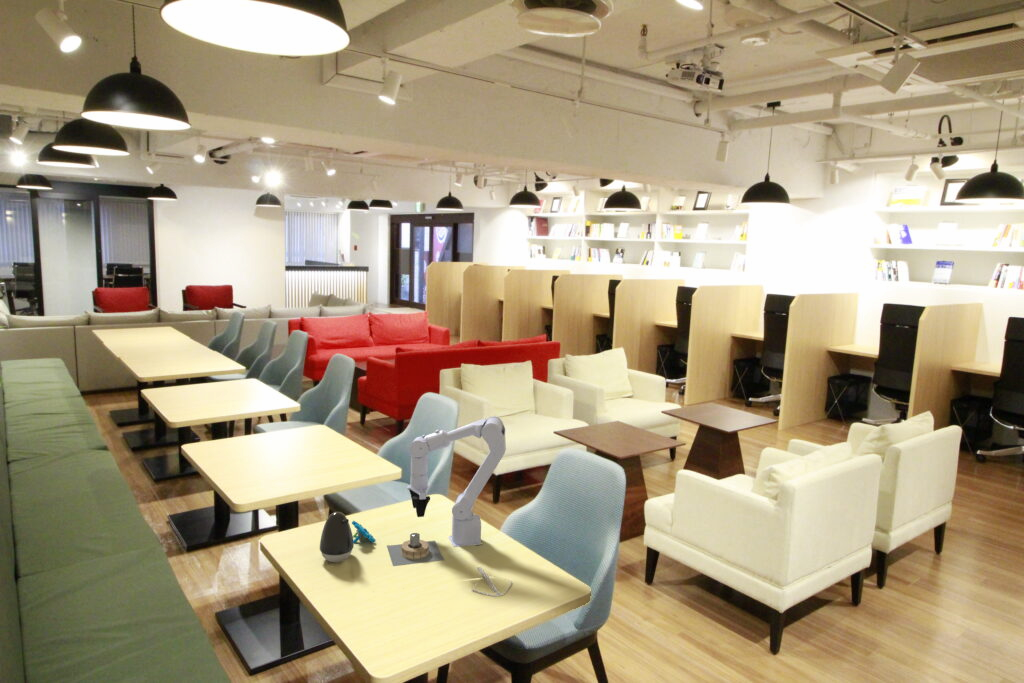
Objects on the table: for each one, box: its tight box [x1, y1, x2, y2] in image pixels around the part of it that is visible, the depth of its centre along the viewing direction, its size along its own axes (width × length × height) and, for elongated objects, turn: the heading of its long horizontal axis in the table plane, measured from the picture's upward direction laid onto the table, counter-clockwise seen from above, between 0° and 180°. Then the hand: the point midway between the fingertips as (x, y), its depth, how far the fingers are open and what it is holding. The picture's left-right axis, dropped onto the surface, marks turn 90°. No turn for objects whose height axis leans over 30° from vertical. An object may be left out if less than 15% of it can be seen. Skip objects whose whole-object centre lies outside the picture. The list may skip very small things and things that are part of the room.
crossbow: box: [471, 566, 513, 597], centre depth 193 cm, size 16×13×2 cm
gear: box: [351, 520, 376, 544], centre depth 215 cm, size 11×6×10 cm
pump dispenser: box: [319, 511, 355, 563], centre depth 202 cm, size 10×10×15 cm
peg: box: [409, 532, 421, 549], centre depth 208 cm, size 3×3×6 cm
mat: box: [386, 540, 445, 567], centre depth 208 cm, size 16×14×1 cm
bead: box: [401, 539, 429, 559], centre depth 208 cm, size 8×8×2 cm
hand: (418, 512), depth 218 cm, fingers open, 7 cm apart
